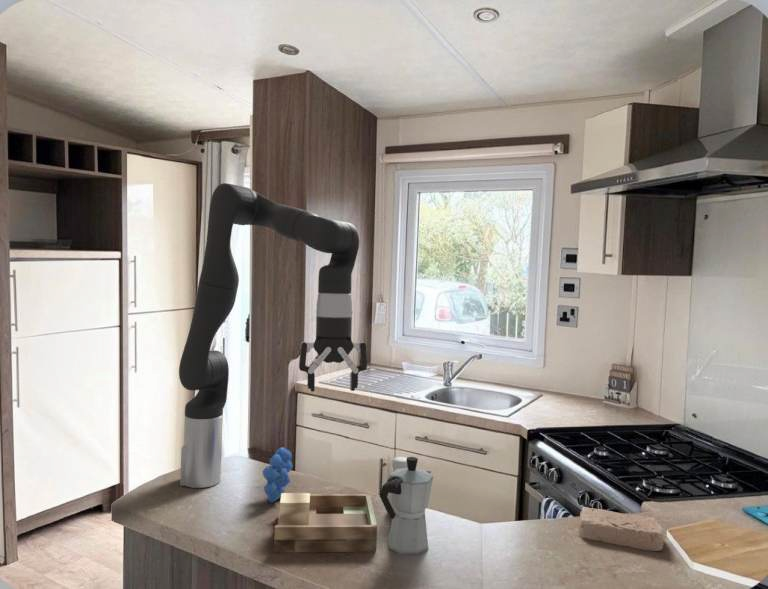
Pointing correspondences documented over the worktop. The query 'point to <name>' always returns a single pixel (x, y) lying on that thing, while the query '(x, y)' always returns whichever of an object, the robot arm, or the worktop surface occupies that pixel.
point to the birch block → (294, 509)
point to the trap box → (331, 526)
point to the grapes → (277, 474)
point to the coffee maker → (408, 508)
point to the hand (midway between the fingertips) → (332, 390)
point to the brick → (621, 529)
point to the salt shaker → (396, 464)
